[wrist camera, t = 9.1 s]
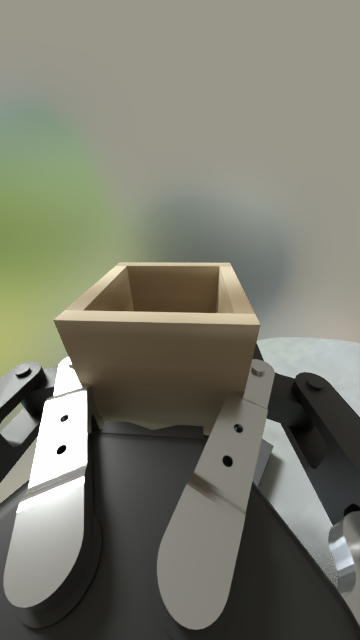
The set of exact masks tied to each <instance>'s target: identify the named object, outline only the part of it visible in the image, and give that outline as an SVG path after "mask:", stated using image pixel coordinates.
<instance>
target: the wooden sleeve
mask: <svg viewBox="0 0 360 640" xmlns="http://www.w3.org/2000/svg"><path fill="white" fill-rule="evenodd" d="M54 322H55V325H56V327H57V329H58V332H59V334H60V336H61V339H62V342H63V344H64V346H65V349H66V351H67V354H68V356H69V359H70V361H71V363H72V366H73V368H74V371H75V373H76V376H77V378H78V380H79V383H80V384H90V385H91V388H92V390H93V395H94V401H95V404H96V407H97V410H98V412H99V415H100V416H102V417H103V420H104V423H105V421H121V422H131V423H134V424H137V425H139V426H142V427H145V428H148V429H151V430H155V429H160V428H165V427H170V426H175V425H191V426H203V434H204V435H207V436H210V434H211V432H212V429H213V427H214V425H215V422H216V420H217V418H218V416H219V413H220V411H221V409H222V406H223V404H224V402H225V400H226V397H227V395H228V393H231V392H232V391H245V389H246V384H247V380H248V376H249V371H250V367H251V363H252V358H253V354H254V350H255V345H256V341H257V337H258V332H259V328H260V323H259V321H258V319H257V317H256V315H255V313H254V311H253V309H252V307H251V305H250V303H249V301H248V299H247V297H246V295H245V293H244V291H243V289H242V287H241V285H240V283H239V281H238V279H237V277H236V274H235V273H234V270H233V269H232V266H231V264H230V263H118V264H117V265H116V266H115V267H114V268H113V269H112V270H110V271H109V272H108V273H107V274H106V275H105V276H104V277H102V278H101V279H100V280H99V281H98V282H97V283H95V284H94V285H93V286H92V287H91V288H90V289H89V290H87V291H86V292H85V293H84V294H83V295H82V296H81V297H79V298H78V299H77V300H76V301H75V302H74V303H72V304H71V305H70V306H69V307H68V308H67V309H66V310H64V311H63V312H62V313H61V314H60V315H59V316H58V317H56V318H55V319H54Z"/></svg>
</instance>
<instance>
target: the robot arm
mask: <svg viewBox="0 0 360 640" xmlns="http://www.w3.org/2000/svg"><path fill="white" fill-rule="evenodd" d="M20 402H21V403H22V405H23V406H24V409H23V410H22V411H21V412H20V413H19V414H18V415H17V416H16V417H15V418H14V419H13V420H12V421H11V422H10V423H9V424H8V425H7V426H6V427H5V428H4V429H3V430H2V431H1V433H0V482H1V481H2V480H3V479H4V478H5V476H6V475H7V474H8V472H9V471H10V470H11V469H12V467H13V466H14V465H15V464H16V462H17V461H18V460H19V459H20V457H21V456H22V455H23V454H24V452H25V451H26V450H27V448H28V447H29V446H30V445H31V443H32V442H33V441H34V440H35V438H36V437H37V436H38V435H39V438H38V442H37V447H36V452H35V458H34V462H33V467H32V472H31V477H30V480H28V481H27V482H26V483H25V484H23V485H22V486H21V487H20V488H19V489H18V490H16V491H15V492H14V493H13V494H11V495H10V496H9V497H8V498H7V499H5V500H4V501H3V502H2V503H0V640H360V417H359V416H358V415H357V414H356V413H355V411H354V410H353V409H352V408H351V407H350V406H349V405H348V404H347V402H346V401H345V400H344V399H343V398H342V397H341V396H340V395H339V393H338V392H337V391H336V390H335V389H334V388H333V387H332V385H331V384H330V383H329V382H328V381H326V380H325V379H324V378H322V377H320V376H318V375H316V374H313V373H307V372H304V373H300V374H298V375H297V376H296V378H295V379H294V378H290V377H287V376H283V375H280V374H277V373H275V372H274V369H273V368H272V367H271V366H270V365H269V364H268V363H266V362H264V360H263V358H262V355H261V353H260V350H259V348H258V345H257V344H256V345H255V350H254V354H253V358H252V363H251V367H250V371H249V376H248V380H247V384H246V389H245V391H232V392H231V393H228V395H227V397H226V400H225V402H224V404H223V406H222V409H221V411H220V413H219V416H218V418H217V420H216V422H215V425H214V427H213V429H212V432H211V434H210V436H207V435H204V434H203V426H191V425H175V426H170V427H165V428H160V429H155V430H151V429H148V428H145V427H142V426H139V425H137V424H134V423H131V422H121V421H105V423H104V420H103V417H102V416H100V415H99V412H98V410H97V407H96V404H95V401H94V395H93V390H92V388H91V385H90V384H80V383H79V380H78V378H77V376H76V373H75V371H74V368H73V366H72V363H71V361H70V359H69V356H68V357H67V358H65V359H64V360H62V362H61V363H60V364H59V366H56V367H51V368H46V369H42V367H41V365H40V364H39V363H38V362H27V363H24V364H21V365H19V366H17V367H15V368H13V369H12V370H11V371H10V372H8V373H7V374H6V375H4V376H3V377H2V378H1V379H0V423H1V422H2V420H3V419H4V418H5V417H6V416H7V415H8V414H9V413H10V412H11V411H12V410H13V409H14V408H15V407H16V406H17V405H18V404H19V403H20ZM266 418H267V419H270V420H273V421H276V422H279V423H281V425H282V427H283V429H284V431H285V433H286V435H287V437H288V439H289V441H290V443H291V445H292V447H293V449H294V450H295V452H296V454H297V456H298V458H299V460H300V462H301V464H302V466H303V468H304V470H305V472H306V474H307V476H308V478H309V480H310V482H311V484H312V486H313V487H314V489H315V491H316V493H317V495H318V497H319V499H320V501H321V503H322V505H323V507H324V509H325V511H326V513H327V515H328V517H329V519H330V521H331V523H332V525H333V527H332V528H331V529H330V531H329V547H330V551H331V554H332V556H333V559H334V562H335V565H336V569H337V573H338V589H336V587H335V586H334V585H333V583H332V582H331V581H330V580H329V578H328V577H327V576H326V574H325V573H324V572H323V571H322V569H321V568H320V567H319V565H318V564H317V563H316V562H315V560H314V559H313V558H312V556H311V555H310V554H309V553H308V551H307V550H306V549H305V547H304V546H303V545H302V544H301V542H300V541H299V540H298V538H297V537H296V536H295V535H294V533H293V532H292V531H291V529H290V528H289V527H288V525H287V524H286V523H285V522H284V520H283V519H282V518H281V516H280V515H279V514H278V513H277V511H276V510H275V509H274V507H273V506H272V505H271V504H270V502H269V501H268V500H267V498H266V497H265V496H264V495H263V493H262V492H261V491H260V489H259V488H258V487H257V485H256V484H255V483H254V482H253V476H254V472H255V467H256V463H257V458H258V454H259V449H260V444H261V440H262V435H263V431H264V426H265V422H266Z"/></svg>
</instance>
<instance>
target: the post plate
mask: <svg viewBox="0 0 360 640" xmlns="http://www.w3.org/2000/svg"><path fill="white" fill-rule="evenodd" d="M272 449H273V445H271V444H269V443H268V442H266V441H265V440H263V439H262V440H261V444H260V449H259V454H258V458H257V463H256V467H255V472H254V476H253V482H254V483H255V484H256V485H257V487H258V484H259V482H260V479H261V477H262V474H263V472H264V469H265V467H266V464H267V461H268V459H269V456H270V454H271V451H272Z"/></svg>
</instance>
